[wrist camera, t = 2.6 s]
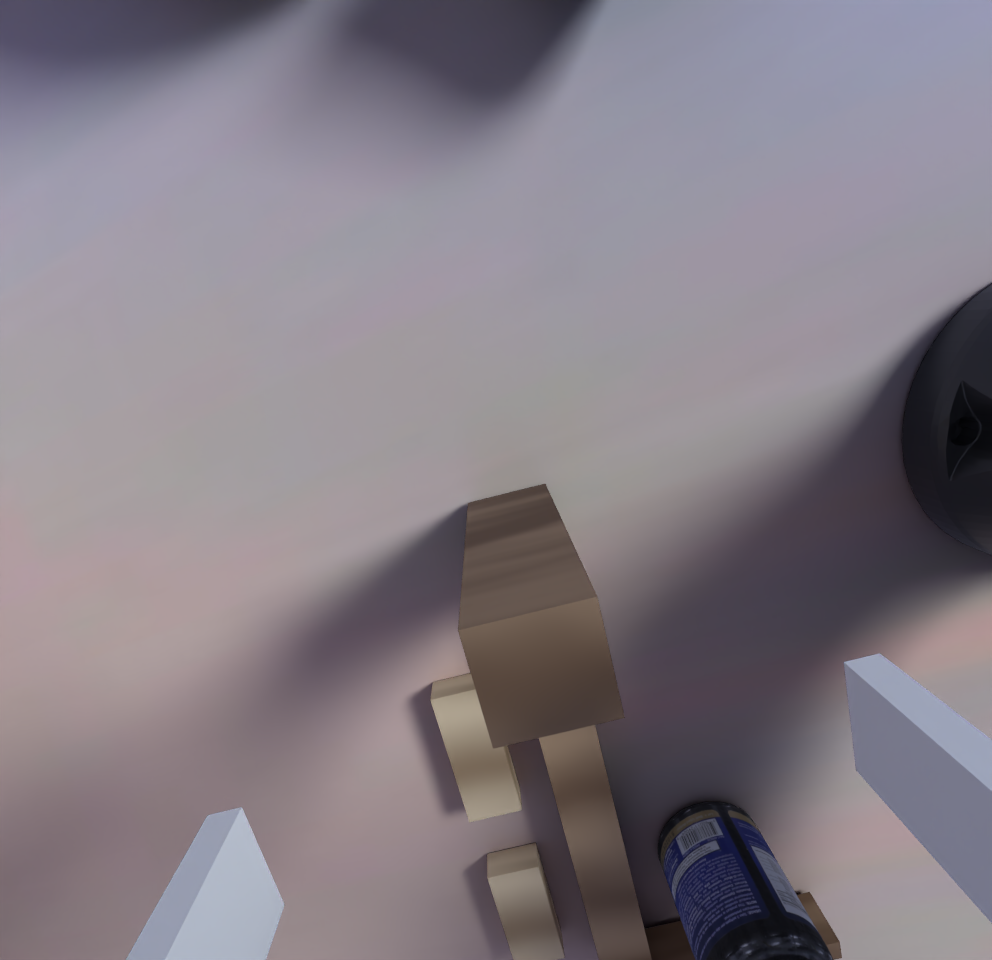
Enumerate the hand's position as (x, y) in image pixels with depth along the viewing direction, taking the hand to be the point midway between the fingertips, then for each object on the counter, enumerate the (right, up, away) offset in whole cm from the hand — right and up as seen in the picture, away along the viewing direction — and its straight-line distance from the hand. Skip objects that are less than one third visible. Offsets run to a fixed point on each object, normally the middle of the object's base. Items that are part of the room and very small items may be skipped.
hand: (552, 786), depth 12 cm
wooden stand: (+8, -7, +20) cm, 22 cm away
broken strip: (-1, -14, +21) cm, 26 cm away
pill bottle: (+11, -15, +22) cm, 29 cm away
